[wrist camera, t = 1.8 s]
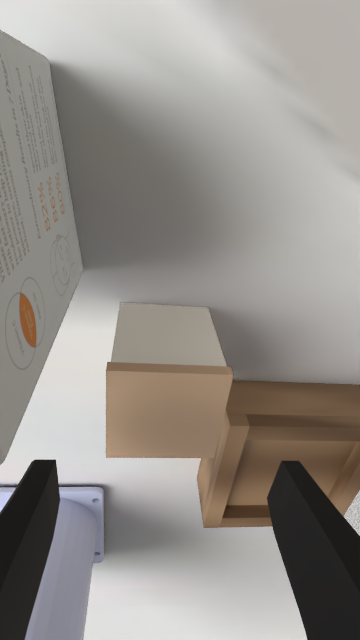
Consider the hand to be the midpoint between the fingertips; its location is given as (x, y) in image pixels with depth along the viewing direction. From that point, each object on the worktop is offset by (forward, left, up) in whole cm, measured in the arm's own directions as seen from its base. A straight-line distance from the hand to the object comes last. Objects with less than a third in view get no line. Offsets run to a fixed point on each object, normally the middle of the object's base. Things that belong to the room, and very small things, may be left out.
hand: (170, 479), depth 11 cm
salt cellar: (0, 0, -8) cm, 8 cm away
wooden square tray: (-7, -8, -9) cm, 14 cm away
